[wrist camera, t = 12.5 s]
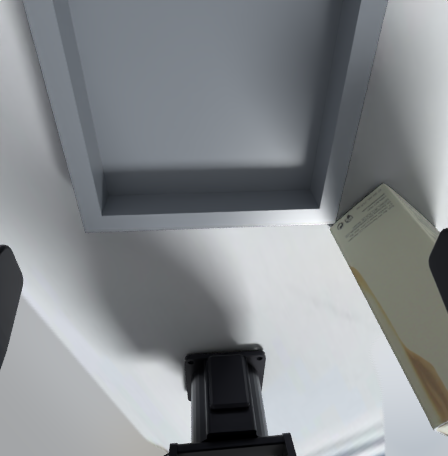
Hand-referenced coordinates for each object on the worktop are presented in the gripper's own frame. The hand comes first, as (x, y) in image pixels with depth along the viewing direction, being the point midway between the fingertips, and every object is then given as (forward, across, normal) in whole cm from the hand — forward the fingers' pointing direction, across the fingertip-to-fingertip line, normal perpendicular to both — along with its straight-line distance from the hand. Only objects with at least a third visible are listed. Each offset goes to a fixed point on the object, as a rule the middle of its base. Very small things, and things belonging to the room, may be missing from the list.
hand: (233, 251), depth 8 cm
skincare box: (+12, -11, +9) cm, 19 cm away
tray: (+12, 0, 0) cm, 12 cm away
